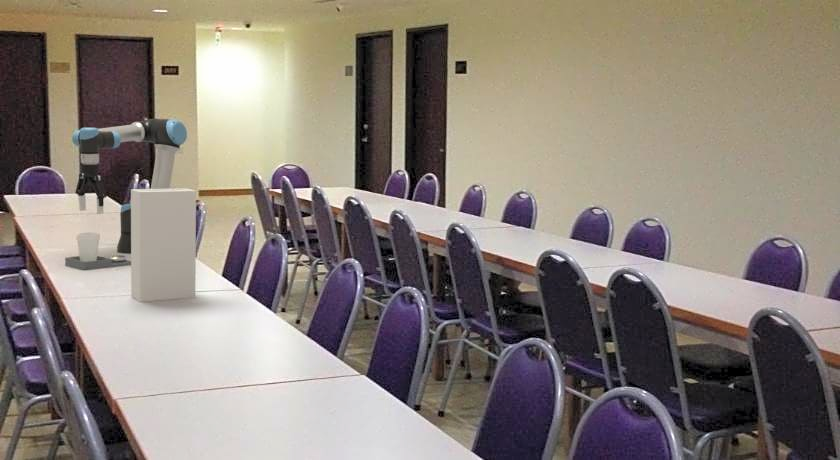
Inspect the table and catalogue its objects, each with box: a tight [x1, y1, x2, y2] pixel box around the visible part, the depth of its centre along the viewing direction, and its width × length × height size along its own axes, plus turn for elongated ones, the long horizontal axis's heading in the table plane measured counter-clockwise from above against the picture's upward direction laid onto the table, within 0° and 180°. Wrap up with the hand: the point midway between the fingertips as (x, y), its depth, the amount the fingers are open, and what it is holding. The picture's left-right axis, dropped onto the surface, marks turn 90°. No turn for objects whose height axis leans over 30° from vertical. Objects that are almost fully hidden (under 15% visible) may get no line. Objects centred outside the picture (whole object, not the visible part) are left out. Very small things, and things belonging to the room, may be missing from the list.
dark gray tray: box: [64, 255, 131, 271], centre depth 418 cm, size 25×15×4 cm, turn 140°
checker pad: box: [104, 254, 126, 262], centre depth 423 cm, size 9×9×2 cm
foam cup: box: [76, 232, 101, 262], centre depth 413 cm, size 10×9×13 cm
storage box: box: [130, 187, 197, 303], centre depth 353 cm, size 21×10×40 cm, turn 124°
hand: (91, 212), depth 416 cm, fingers open, 13 cm apart
